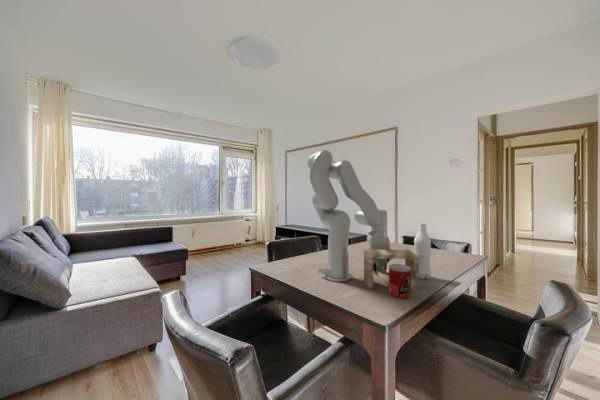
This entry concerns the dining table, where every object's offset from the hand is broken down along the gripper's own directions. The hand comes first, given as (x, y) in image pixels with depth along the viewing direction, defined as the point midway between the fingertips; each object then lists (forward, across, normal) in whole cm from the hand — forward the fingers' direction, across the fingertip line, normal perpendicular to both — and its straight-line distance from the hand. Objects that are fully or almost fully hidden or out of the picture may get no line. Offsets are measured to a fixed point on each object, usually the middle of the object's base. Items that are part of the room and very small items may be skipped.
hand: (379, 270), depth 122 cm
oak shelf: (+1, 0, -16) cm, 16 cm away
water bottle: (+1, +18, -7) cm, 19 cm away
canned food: (+1, 0, -27) cm, 27 cm away
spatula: (+1, 0, -8) cm, 8 cm away
